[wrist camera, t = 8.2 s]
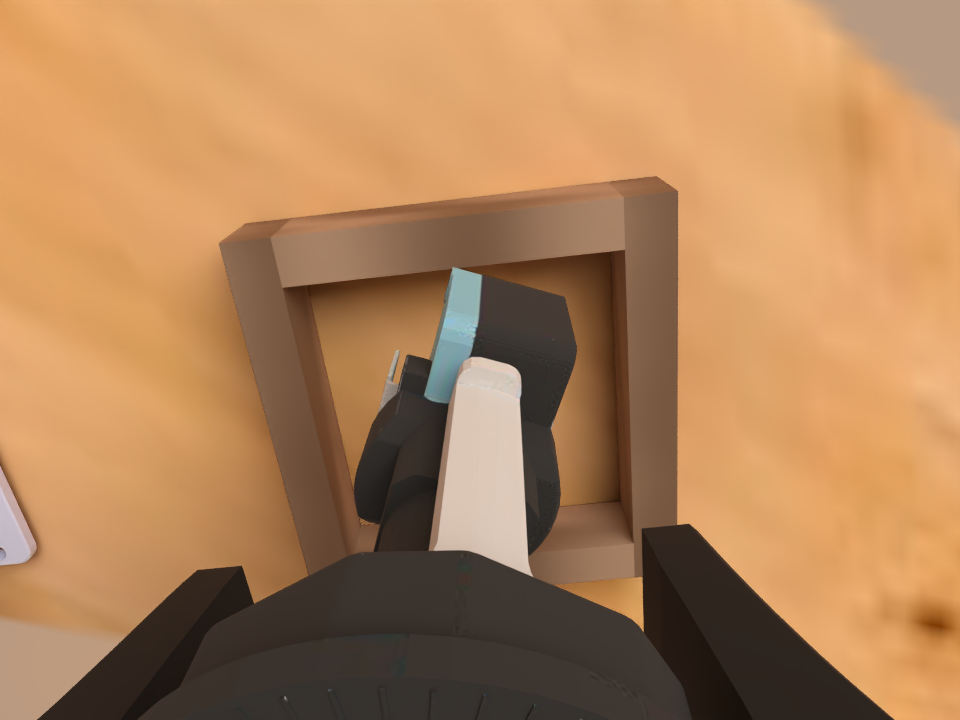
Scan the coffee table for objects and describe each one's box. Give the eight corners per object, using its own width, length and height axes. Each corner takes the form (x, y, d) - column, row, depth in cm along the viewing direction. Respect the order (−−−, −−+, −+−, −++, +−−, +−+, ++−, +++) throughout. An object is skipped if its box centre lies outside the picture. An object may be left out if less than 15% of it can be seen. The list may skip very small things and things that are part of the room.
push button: (536, 566, 15) (587, 1320, 6) (301, 511, 15) (-2, 1244, 6) (645, 295, 13) (1009, 960, 4) (359, 217, 12) (-49, 762, 3)
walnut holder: (330, 560, 22) (317, 606, 20) (245, 223, 18) (218, 243, 16) (660, 529, 21) (677, 573, 20) (656, 176, 17) (677, 190, 15)
